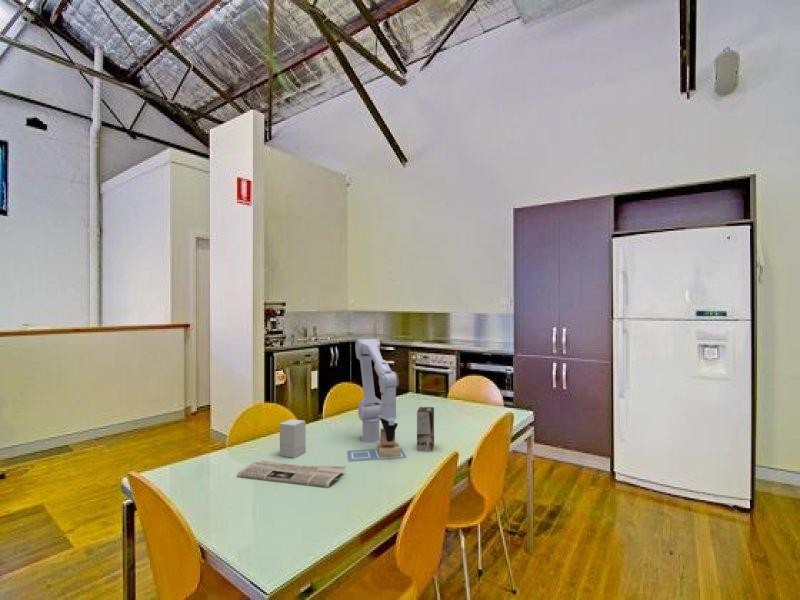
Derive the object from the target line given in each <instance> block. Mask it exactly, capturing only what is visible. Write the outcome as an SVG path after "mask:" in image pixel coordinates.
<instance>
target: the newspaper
mask: <svg viewBox="0 0 800 600" xmlns="http://www.w3.org/2000/svg"><path fill="white" fill-rule="evenodd" d="M345 470H346V465H345V466H343V465H341V466H340V465H301V464H292V463H285V462H277V461H276V462H275V461H270V460H269V461H268V460H261V461H256V462H255V461H254V462H252V463H250V464H248V465H246V466H245V467H243V468H242V469H241V470H239V471H238V472H237V473H236V478H241V479H251V480H259V481H268V482H274V483H284V484H293V485H300V486H310V487H317V488H327V489H329V488H330V486H331V484H332V483H333V480H334V479H335V478H337V477H338V476H339V475H342V473H343V472H344V471H345Z"/></svg>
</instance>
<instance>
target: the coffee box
mask: <svg viewBox="0 0 800 600" xmlns="http://www.w3.org/2000/svg"><path fill="white" fill-rule="evenodd" d="M434 447H435V407H434V406H433V407H432V406H424V407H423V406H419V407H418V409H417V411H416V452H427V453H431V452H433V450H434Z"/></svg>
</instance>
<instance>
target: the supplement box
mask: <svg viewBox="0 0 800 600" xmlns="http://www.w3.org/2000/svg"><path fill="white" fill-rule="evenodd" d="M306 430H307V429H306V420H300V419H294V418H293V419H292V418H290V419H287V420H285V421H283V422H279V456H281V457H286V458H287V457H288V458H290V459H292V458H293V459H295V458H297V457H299V456H302V455H304V454H305V453H306V447H307V446H306V445H307V444H306V438H307V437H306V432H307V431H306Z"/></svg>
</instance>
